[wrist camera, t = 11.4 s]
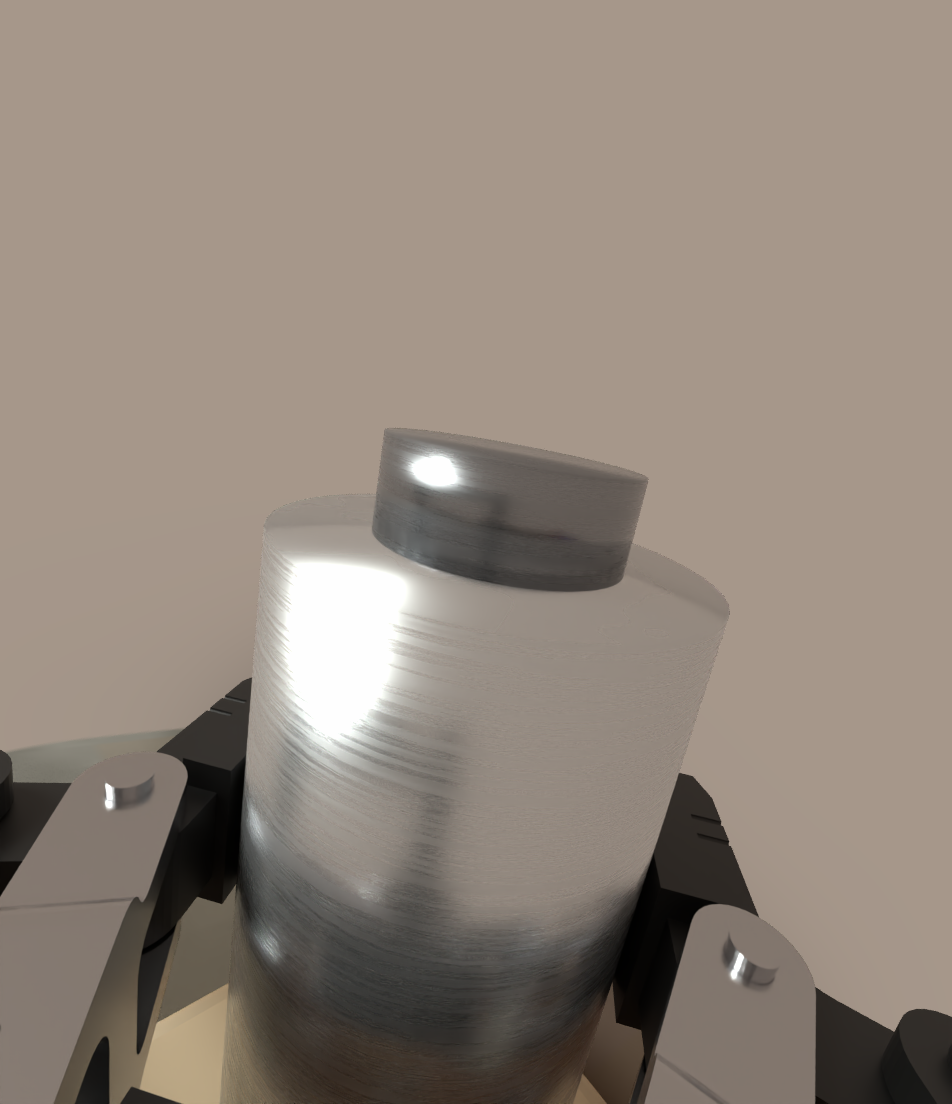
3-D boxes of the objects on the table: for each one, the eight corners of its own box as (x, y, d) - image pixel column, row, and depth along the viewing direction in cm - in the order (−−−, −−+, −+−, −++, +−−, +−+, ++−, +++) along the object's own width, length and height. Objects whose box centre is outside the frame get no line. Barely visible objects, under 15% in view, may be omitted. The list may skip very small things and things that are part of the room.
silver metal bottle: (294, 1624, 6) (518, 506, 3) (169, 1119, 10) (201, 393, 7) (589, 1209, 10) (836, 511, 7) (415, 957, 14) (514, 437, 10)
